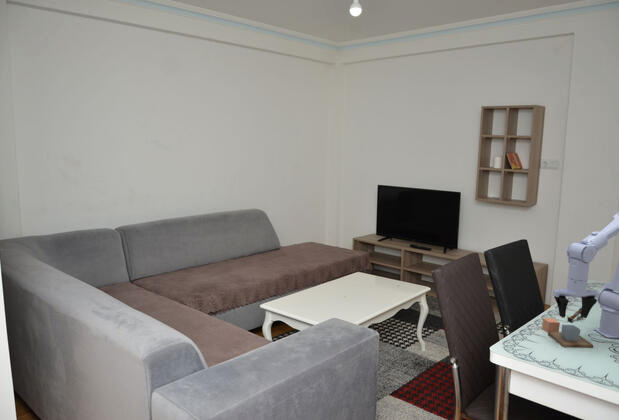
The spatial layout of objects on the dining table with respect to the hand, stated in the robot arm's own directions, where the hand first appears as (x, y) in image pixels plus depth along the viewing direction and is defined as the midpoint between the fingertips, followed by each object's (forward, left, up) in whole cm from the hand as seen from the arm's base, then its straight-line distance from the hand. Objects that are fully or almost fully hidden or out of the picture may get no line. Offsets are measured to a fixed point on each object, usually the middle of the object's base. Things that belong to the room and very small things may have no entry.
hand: (572, 316), depth 160 cm
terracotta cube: (+2, -9, -9) cm, 13 cm away
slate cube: (0, 0, -8) cm, 8 cm away
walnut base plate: (0, 0, -9) cm, 9 cm away
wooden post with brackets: (-13, -20, -9) cm, 26 cm away
